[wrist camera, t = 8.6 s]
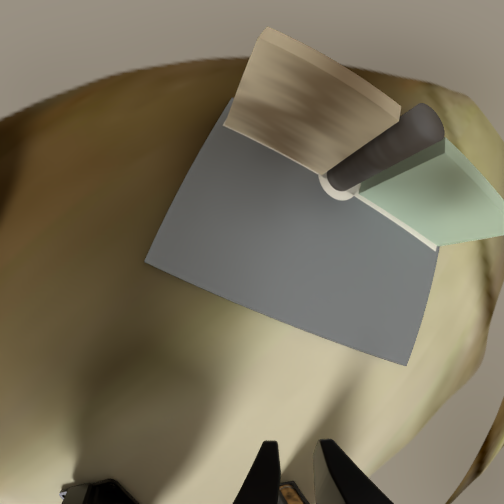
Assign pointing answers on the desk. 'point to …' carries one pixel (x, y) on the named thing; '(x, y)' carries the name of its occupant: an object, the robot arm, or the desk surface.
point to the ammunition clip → (291, 494)
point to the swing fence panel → (439, 196)
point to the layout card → (296, 247)
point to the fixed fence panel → (325, 113)
